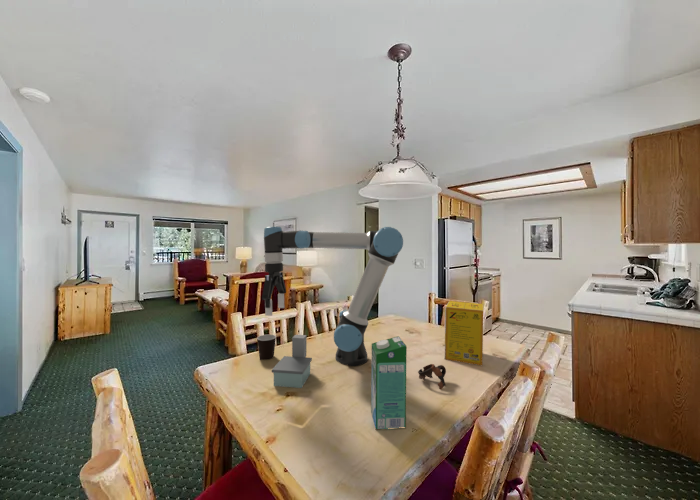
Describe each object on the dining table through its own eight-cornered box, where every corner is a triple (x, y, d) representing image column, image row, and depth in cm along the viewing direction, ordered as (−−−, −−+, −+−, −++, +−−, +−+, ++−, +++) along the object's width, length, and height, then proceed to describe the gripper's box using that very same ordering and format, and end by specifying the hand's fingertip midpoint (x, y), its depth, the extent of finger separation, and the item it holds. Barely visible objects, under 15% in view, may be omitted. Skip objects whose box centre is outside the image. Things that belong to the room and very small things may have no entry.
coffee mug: (270, 362, 130) (270, 341, 130) (253, 361, 132) (253, 339, 132) (281, 353, 142) (281, 333, 141) (265, 351, 143) (265, 332, 143)
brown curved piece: (437, 394, 105) (426, 372, 107) (421, 394, 113) (411, 374, 115) (456, 377, 112) (445, 357, 114) (440, 378, 119) (430, 360, 121)
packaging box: (448, 348, 150) (449, 300, 149) (482, 353, 143) (483, 303, 143) (444, 359, 135) (445, 307, 135) (482, 365, 129) (483, 310, 128)
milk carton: (370, 412, 93) (371, 336, 92) (398, 410, 94) (398, 335, 93) (375, 430, 84) (376, 346, 83) (405, 428, 85) (406, 345, 84)
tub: (310, 374, 119) (310, 360, 119) (301, 389, 107) (301, 373, 107) (284, 373, 120) (284, 358, 120) (273, 387, 108) (273, 371, 108)
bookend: (314, 356, 123) (314, 335, 123) (302, 374, 106) (302, 350, 106) (287, 354, 125) (287, 334, 124) (271, 372, 108) (271, 348, 107)
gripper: (276, 260, 136) (278, 305, 137) (251, 265, 111) (253, 318, 112) (292, 260, 135) (293, 305, 135) (270, 264, 110) (271, 319, 111)
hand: (275, 311), depth 124 cm, fingers open, 13 cm apart
